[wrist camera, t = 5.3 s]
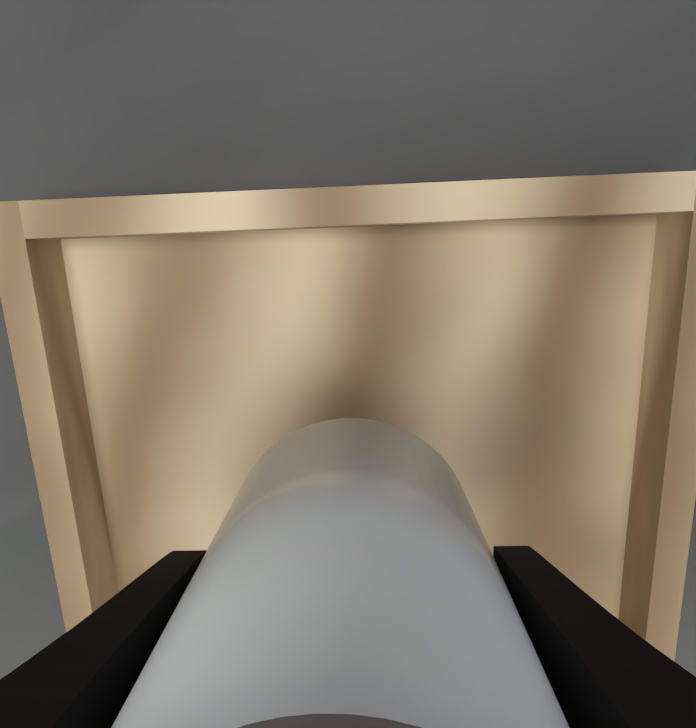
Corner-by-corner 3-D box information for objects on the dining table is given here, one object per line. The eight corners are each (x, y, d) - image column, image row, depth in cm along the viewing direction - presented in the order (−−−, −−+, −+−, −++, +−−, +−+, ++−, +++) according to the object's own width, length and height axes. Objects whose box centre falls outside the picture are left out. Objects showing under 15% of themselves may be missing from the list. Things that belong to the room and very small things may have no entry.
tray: (679, 180, 16) (737, 168, 13) (632, 627, 19) (671, 682, 17) (38, 208, 16) (-18, 202, 14) (112, 635, 20) (77, 689, 18)
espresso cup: (467, 410, 10) (647, 663, 4) (475, 685, 11) (623, 1230, 5) (220, 426, 10) (-10, 691, 4) (254, 694, 12) (121, 1228, 5)
